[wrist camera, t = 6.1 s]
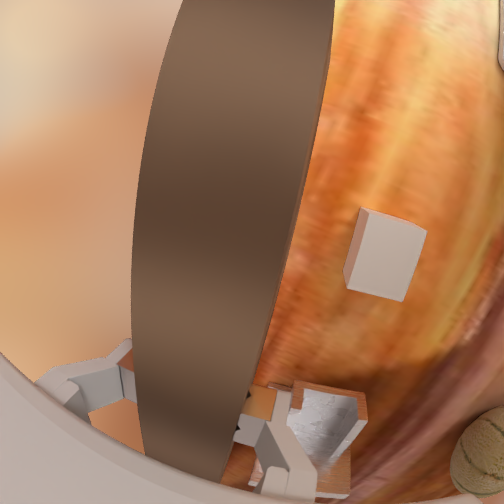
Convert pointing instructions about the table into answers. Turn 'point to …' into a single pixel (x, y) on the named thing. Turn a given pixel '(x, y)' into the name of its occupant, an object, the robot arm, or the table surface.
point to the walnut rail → (219, 213)
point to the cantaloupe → (480, 456)
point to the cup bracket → (323, 432)
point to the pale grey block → (383, 254)
